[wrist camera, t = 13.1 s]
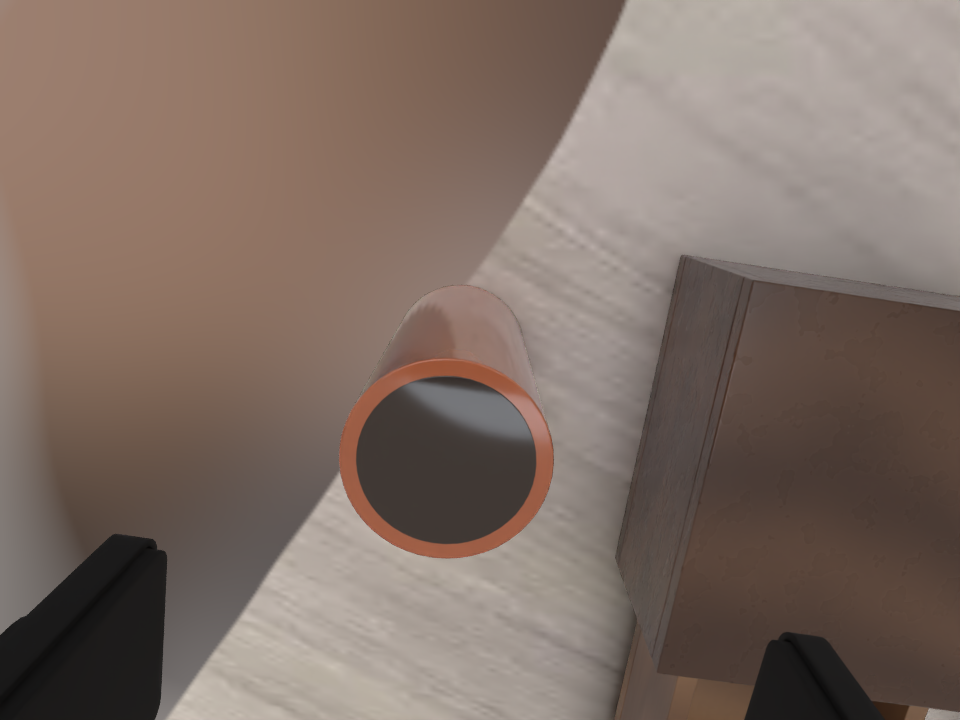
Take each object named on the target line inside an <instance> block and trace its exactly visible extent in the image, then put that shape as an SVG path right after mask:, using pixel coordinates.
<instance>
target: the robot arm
mask: <svg viewBox="0 0 960 720" xmlns="http://www.w3.org/2000/svg"><path fill="white" fill-rule="evenodd" d="M166 570H167V555H166V552H165V551H162V550H157V545H156V542H155V541H154V540H153V539H149V538H142V537H135V536H128V535H121V534H114V535H112V536H111V537H109V538H108V539H107V540H106V541H105V542H104V543H103V544H102V545H101V546H100V547H99V548H98V549H96V550H95V551H94V552H93V553H92V554H91V555H90V556H89V557H88V558H87V559H86V560H85V561H84V562H83V563H82V564H81V565H80V566H78V567H77V569H75V570H74V571H73V572H72V573H71V574H70V575H69V576H68V577H67V578H66V579H65V580H64V581H63V582H62V583H61V584H59V585H58V586H57V587H56V588H55V589H54V590H53V591H52V592H51V593H50V594H49V595H48V596H47V597H46V598H45V599H44V600H43V601H42V602H41V603H40V604H38V605H37V606H36V607H35V608H34V609H33V610H32V611H31V612H30V613H29V614H28V615H27V616H25V617H22V618H20V619H19V620H17V621H16V622H14V623H13V624H12V625H11V626H9V628H7V629H6V630H5V631H4V632H3V633H2V634H1V635H0V720H155V718H156V715H157V712H158V709H159V705H160V699H161V684H162V660H163V638H164V617H165V615H164V614H165V594H166V572H167V571H166ZM744 720H885V719H884V717H883V716H882V715H881V713H880V712H879V711H878V709H877V708H876V706H875V705H874V704H873V702H872V701H871V700H870V698H869V697H868V695H867V694H866V693H865V691H864V690H863V689H862V687H861V686H860V685H859V683H858V682H857V680H856V679H855V678H854V676H853V675H852V674H851V672H850V671H849V669H848V668H847V667H846V665H845V664H844V663H843V661H842V660H841V658H840V657H839V656H838V654H837V653H836V652H835V650H834V649H833V647H832V646H831V645H830V643H829V642H828V641H827V640H826V639H825V638H823V637H819V636H812V635H806V634H799V633H792V632H784V633H782V634H781V635H780V637H779V638H778V640H771V641H770V642H769V643H768V645H767V647H766V650H765V654H764V657H763V660H762V663H761V667H760V670H759V673H758V676H757V680H756V683H755V686H754V690H753V693H752V696H751V699H750V703H749V706H748V709H747V712H746V716H745V719H744Z"/></svg>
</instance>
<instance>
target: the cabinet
mask: <svg viewBox="0 0 960 720" xmlns="http://www.w3.org/2000/svg"><path fill="white" fill-rule="evenodd" d="M615 558H616V561H617V564H618V568H619V570H620V573H621V576H622V579H623V581H624V584H625V587H626V590H627V592H628V595H629V598H630V601H631V603H632V606H633V609H634V612H635V614H636V617H637V620H638V623H639V626H640V628H641V631H642V634H643V637H644V639H645V642H646V645H647V648H648V650H649V653H650V656H651V658H652V661H653V664H654V666H655V669H656V672H657V673H658V674H666V675H674V676H682V677H689V678H697V679H705V680H713V681H721V682H729V683H736V684H744V685H752V686H755V683H756V680H757V676H758V673H759V670H760V667H761V663H762V660H763V657H764V654H765V650H766V647H767V645H768V643H769V642H770V641H771V640H778V638H779V637H780V635H781V634H782V633H784V632H792V633H799V634H806V635H812V636H819V637H823V638H825V639H826V640H827V641H828V642H829V643H830V645H831V646H832V647H833V649H834V650H835V652H836V653H837V654H838V656H839V657H840V658H841V660H842V661H843V663H844V664H845V665H846V667H847V668H848V669H849V671H850V672H851V674H852V675H853V676H854V678H855V679H856V680H857V682H858V683H859V685H860V686H861V687H862V689H863V690H864V691H865V693H866V694H867V695H868V697H869V698H870V700H871V701H877V702H885V703H893V704H901V705H909V706H917V707H924V708H932V709H940V710H948V711H956V712H960V296H953V295H946V294H940V293H933V292H926V291H920V290H913V289H907V288H900V287H893V286H887V285H880V284H873V283H867V282H860V281H853V280H847V279H840V278H834V277H827V276H820V275H814V274H807V273H800V272H794V271H787V270H780V269H774V268H767V267H761V266H754V265H747V264H741V263H734V262H727V261H721V260H714V259H707V258H701V257H694V256H688V255H682V256H681V259H680V263H679V268H678V273H677V277H676V282H675V286H674V291H673V296H672V300H671V305H670V309H669V314H668V318H667V323H666V328H665V332H664V337H663V341H662V346H661V350H660V355H659V360H658V364H657V369H656V373H655V378H654V383H653V387H652V392H651V396H650V401H649V405H648V410H647V415H646V419H645V424H644V428H643V433H642V438H641V442H640V447H639V451H638V456H637V460H636V465H635V470H634V474H633V479H632V483H631V488H630V493H629V497H628V502H627V506H626V511H625V515H624V520H623V525H622V529H621V534H620V538H619V543H618V548H617V552H616V557H615Z"/></svg>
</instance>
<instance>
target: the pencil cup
mask: <svg viewBox="0 0 960 720" xmlns="http://www.w3.org/2000/svg"><path fill="white" fill-rule="evenodd" d="M339 465H340V474H341V478H342V482H343V486H344V488H345V491H346V493H347V496H348V498H349V500H350V502H351V504H352V505H353V507H354V509H355V510H356V512H357V513H358V514H359V516H360V517H361V518H362V520H363V521H364V522H365V523H366V524H367V525H368V526H369V527H370V528H371V529H372V530H373V531H374V532H376V533H377V534H378V535H379V536H381V537H382V538H383V539H385V540H386V541H388V542H390V543H391V544H393V545H395V546H397V547H399V548H401V549H404V550H406V551H409V552H412V553H415V554H418V555H422V556H427V557H433V558H462V557H468V556H473V555H477V554H480V553H484V552H487V551H489V550H491V549H494V548H496V547H498V546H500V545H502V544H503V543H505V542H507V541H508V540H510V539H511V538H513V537H514V536H515V535H517V534H518V533H519V532H520V531H521V530H522V529H523V528H524V527H525V526H526V525H527V524H528V523H529V522H530V521H531V520H532V519H533V517H534V516H535V515H536V513H537V512H538V510H539V509H540V507H541V505H542V503H543V502H544V500H545V497H546V495H547V492H548V490H549V487H550V483H551V479H552V474H553V465H554V455H553V445H552V439H551V435H550V431H549V428H548V424H547V421H546V417H545V413H544V410H543V406H542V403H541V399H540V396H539V392H538V389H537V385H536V382H535V378H534V375H533V371H532V368H531V364H530V361H529V357H528V353H527V350H526V346H525V343H524V339H523V336H522V332H521V329H520V326H519V324H518V321H517V319H516V317H515V316H514V314H513V313H512V311H511V310H510V309H509V308H508V306H507V305H506V304H505V303H504V302H503V301H501V300H500V299H499V298H498V297H496V296H495V295H493V294H492V293H490V292H488V291H486V290H483V289H480V288H477V287H473V286H467V285H452V286H446V287H442V288H439V289H436V290H434V291H432V292H429V293H427V294H426V295H424V296H423V297H421V298H420V299H419V300H418V301H417V302H415V304H413V306H412V307H411V308H410V309H409V310H408V312H407V313H406V315H405V316H404V318H403V320H402V322H401V323H400V325H399V327H398V329H397V330H396V332H395V334H394V336H393V337H392V339H391V341H390V343H389V345H388V347H387V348H386V350H385V352H384V353H383V355H382V357H381V359H380V360H379V363H378V364H377V366H376V367H375V369H374V371H373V373H372V375H371V376H370V378H369V380H368V382H367V383H366V385H365V387H364V389H363V391H362V392H361V394H360V396H359V398H358V399H357V401H356V403H355V405H354V406H353V408H352V410H351V412H350V414H349V416H348V418H347V420H346V423H345V426H344V429H343V432H342V436H341V441H340V447H339Z"/></svg>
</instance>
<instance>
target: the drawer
mask: <svg viewBox="0 0 960 720" xmlns="http://www.w3.org/2000/svg"><path fill="white" fill-rule="evenodd" d="M753 690H754V686H752V685H744V684H736V683H729V682H721V681H713V680H705V679H697V678H689V677H682V676H674V675H666V674H658V673H657V672H656V669H655V666H654V664H653V661H652V658H651V656H650V653H649V650H648V648H647V645H646V642H645V639H644V637H643V634H642V631H641V628H640V626H639V623H638V620H637V624H636V628H635V632H634V637H633V641H632V645H631V649H630V654H629V658H628V662H627V667H626V671H625V675H624V680H623V684H622V688H621V692H620V697H619V701H618V705H617V710H616V714H615V718H614V720H744V719H745V716H746V712H747V709H748V706H749V703H750V699H751V696H752V693H753ZM872 702H873V704H874V705H875V706H876V708H877V709H878V711H879V712H880V713H881V715H882V716H883V717H884V719H885V720H925V717H926V714H927V712H928V709H929V708H924V707H917V706H909V705H901V704H893V703H885V702H877V701H872Z"/></svg>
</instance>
